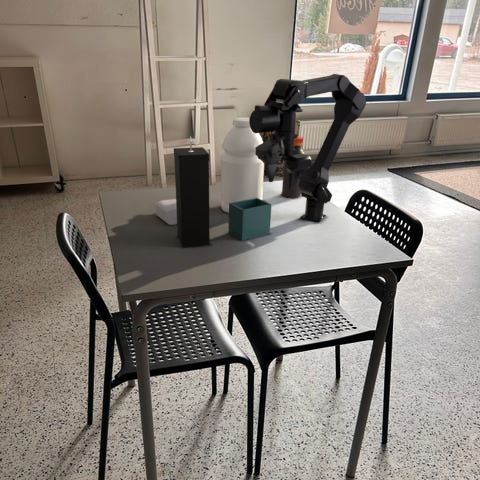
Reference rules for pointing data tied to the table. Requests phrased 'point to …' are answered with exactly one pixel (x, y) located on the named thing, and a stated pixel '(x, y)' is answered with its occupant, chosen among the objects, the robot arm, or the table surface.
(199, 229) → the tall black block
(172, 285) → the table surface
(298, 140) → the bottle
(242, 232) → the teal box
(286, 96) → the robot arm
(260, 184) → the bottle
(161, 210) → the charger
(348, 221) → the table surface
